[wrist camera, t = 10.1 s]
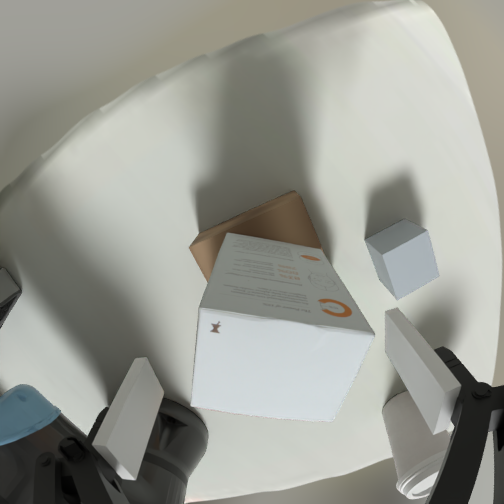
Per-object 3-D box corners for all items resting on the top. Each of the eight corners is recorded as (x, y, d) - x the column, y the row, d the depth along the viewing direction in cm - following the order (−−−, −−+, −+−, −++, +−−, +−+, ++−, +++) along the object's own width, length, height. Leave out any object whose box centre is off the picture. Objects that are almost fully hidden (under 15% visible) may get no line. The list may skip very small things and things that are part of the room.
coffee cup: (372, 433, 39) (396, 509, 24) (372, 395, 36) (405, 481, 22) (426, 413, 38) (460, 482, 24) (433, 373, 35) (479, 447, 21)
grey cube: (379, 279, 31) (397, 300, 26) (364, 239, 30) (382, 255, 25) (417, 259, 30) (439, 276, 25) (404, 218, 29) (427, 230, 24)
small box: (215, 300, 27) (185, 408, 14) (226, 230, 25) (195, 304, 12) (305, 315, 27) (334, 425, 14) (323, 248, 25) (379, 331, 13)
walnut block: (243, 315, 33) (241, 340, 28) (199, 232, 30) (188, 247, 25) (330, 279, 31) (342, 300, 26) (293, 189, 29) (300, 196, 24)
